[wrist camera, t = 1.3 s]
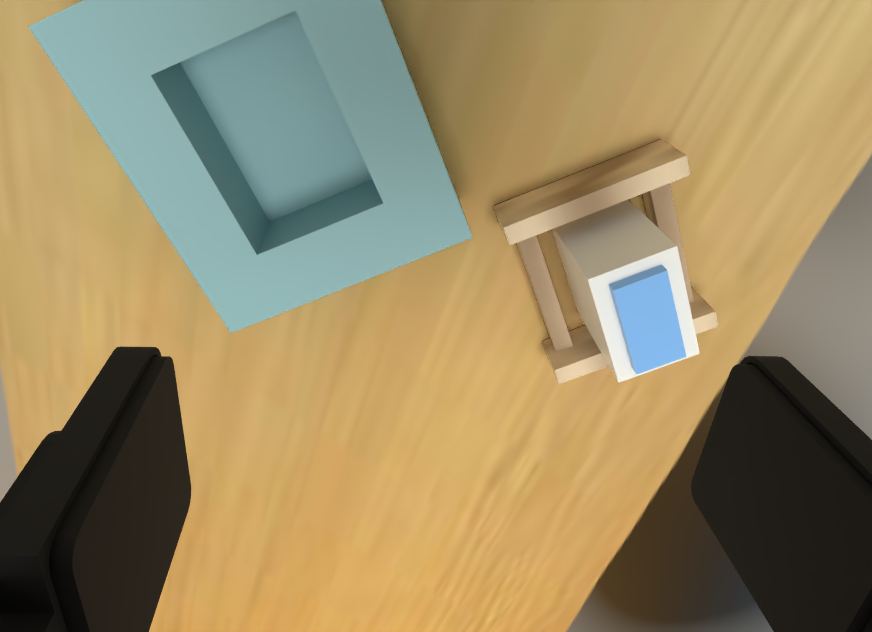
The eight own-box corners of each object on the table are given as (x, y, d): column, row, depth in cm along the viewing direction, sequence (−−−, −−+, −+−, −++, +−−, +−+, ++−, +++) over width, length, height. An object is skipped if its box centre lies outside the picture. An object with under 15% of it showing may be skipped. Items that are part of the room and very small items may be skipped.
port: (340, -106, 26) (334, -118, 21) (460, 203, 33) (474, 241, 28) (83, 15, 27) (28, 26, 23) (250, 287, 34) (233, 336, 30)
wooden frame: (661, 139, 32) (686, 155, 29) (693, 300, 37) (718, 326, 34) (492, 206, 33) (503, 227, 30) (546, 354, 38) (559, 383, 35)
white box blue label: (621, 192, 33) (683, 251, 27) (644, 286, 36) (705, 360, 30) (549, 221, 34) (591, 285, 27) (577, 311, 37) (622, 390, 30)
